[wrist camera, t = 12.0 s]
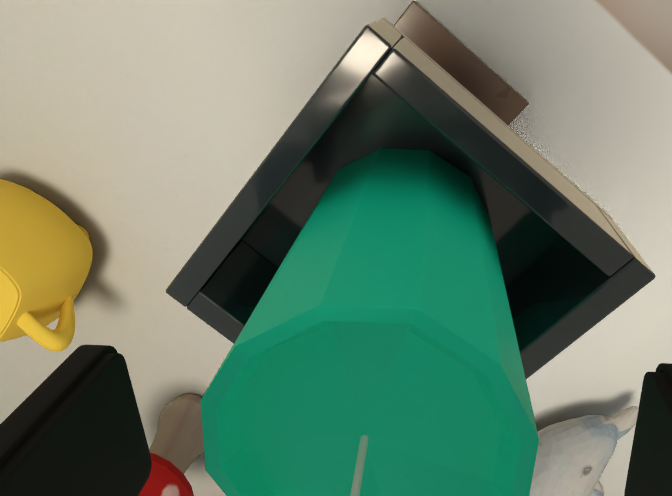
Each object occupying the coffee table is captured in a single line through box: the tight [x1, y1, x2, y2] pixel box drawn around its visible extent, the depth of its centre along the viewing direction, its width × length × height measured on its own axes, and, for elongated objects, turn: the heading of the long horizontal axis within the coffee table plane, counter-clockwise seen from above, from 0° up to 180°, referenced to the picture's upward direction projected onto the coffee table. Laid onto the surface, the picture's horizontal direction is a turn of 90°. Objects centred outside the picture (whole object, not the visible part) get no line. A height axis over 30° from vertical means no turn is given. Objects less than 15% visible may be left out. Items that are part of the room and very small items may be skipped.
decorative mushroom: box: [138, 394, 204, 496], centre depth 48 cm, size 10×9×15 cm
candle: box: [200, 148, 539, 496], centre depth 14 cm, size 6×6×12 cm
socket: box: [166, 18, 655, 379], centre depth 18 cm, size 10×10×5 cm
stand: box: [394, 1, 529, 125], centre depth 30 cm, size 10×10×22 cm
